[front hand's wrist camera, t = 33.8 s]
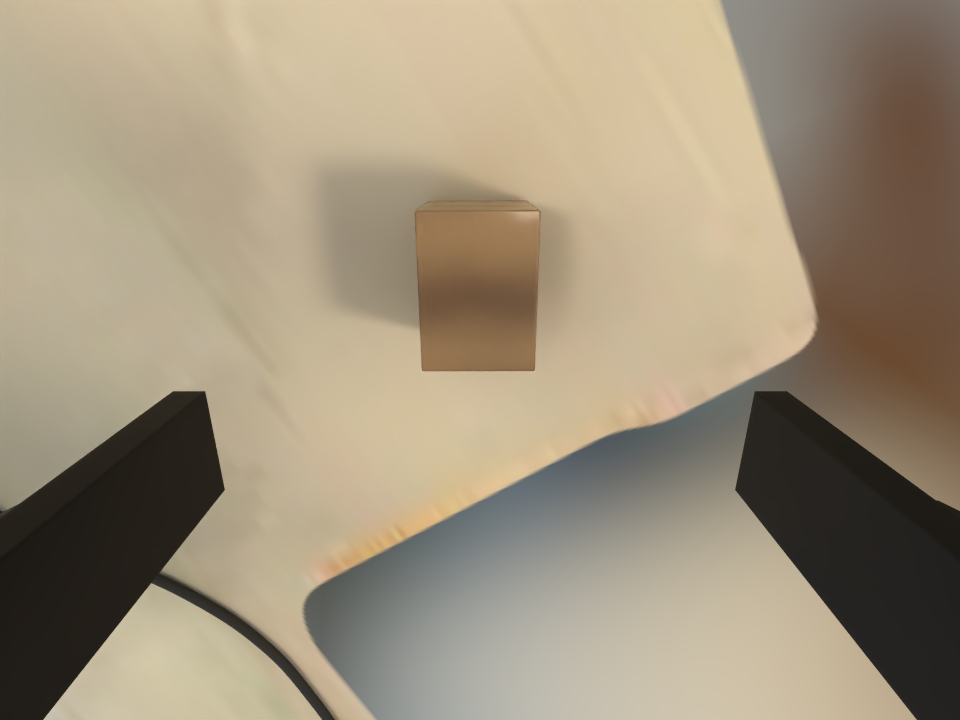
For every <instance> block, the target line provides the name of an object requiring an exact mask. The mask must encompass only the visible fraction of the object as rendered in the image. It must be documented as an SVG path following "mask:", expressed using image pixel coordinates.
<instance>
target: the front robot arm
mask: <svg viewBox="0 0 960 720" xmlns="http://www.w3.org/2000/svg"><path fill="white" fill-rule="evenodd" d="M224 490H225V489H224V484H223V479H222V474H221V469H220V464H219V459H218V454H217V449H216V443H215V438H214V433H213V428H212V423H211V418H210V413H209V408H208V403H207V398H206V393H205V391H173V392H172V393H170V394H169V395H168V396H166V397H165V398H163V399H162V400H161V401H159V402H158V403H157V404H155V405H154V406H153V407H151V408H150V409H148V410H147V411H146V412H144V413H143V414H142V415H140V416H139V417H138V418H136V419H135V420H133V421H132V422H131V423H129V424H128V425H127V426H125V427H124V428H123V429H121V430H120V431H118V432H117V433H116V434H114V435H113V436H112V437H110V438H109V439H107V440H106V441H105V442H103V443H102V444H101V445H99V446H98V447H97V448H95V449H94V450H92V451H91V452H90V453H88V454H87V455H86V456H84V457H83V458H82V459H80V460H79V461H77V462H76V463H75V464H73V465H72V466H71V467H69V468H68V469H67V470H65V471H64V472H62V473H61V474H60V475H58V476H57V477H56V478H54V479H53V480H52V481H50V482H49V483H47V484H46V485H45V486H43V487H42V488H41V489H39V490H38V491H36V492H35V493H34V494H32V495H31V496H30V497H28V498H27V499H26V500H24V501H23V502H21V503H20V504H18V505H16V506H14V507H12V508H10V509H8V510H6V511H4V512H1V511H0V720H43V719H44V718H45V717H46V715H47V714H48V713H49V712H50V710H51V709H52V708H53V707H54V705H55V704H56V703H57V701H58V700H59V699H60V698H61V696H62V695H63V694H64V693H65V691H66V690H67V689H68V688H69V686H70V685H71V684H72V682H73V681H74V680H75V679H76V677H77V676H78V675H79V674H80V672H81V671H82V670H83V669H84V667H85V666H86V665H87V663H88V662H89V661H90V660H91V658H92V657H93V656H94V655H95V653H96V652H97V651H98V650H99V648H100V647H101V646H102V644H103V643H104V642H105V641H106V639H107V638H108V637H109V636H110V634H111V633H112V632H113V631H114V629H115V628H116V627H117V626H118V624H119V623H120V622H121V620H122V619H123V618H124V617H125V615H126V614H127V613H128V612H129V610H130V609H131V608H132V607H133V605H134V604H135V603H136V601H137V600H138V599H139V598H140V596H141V595H142V594H143V593H144V591H145V590H146V589H147V588H148V586H149V585H150V584H151V583H152V584H155V585H157V586H159V587H161V588H163V589H166V590H168V591H170V592H172V593H174V594H176V595H178V596H180V597H181V598H183V599H185V600H187V601H189V602H191V603H193V604H194V605H196V606H198V607H200V608H202V609H203V610H205V611H207V612H209V613H210V614H212V615H214V616H215V617H217V618H218V619H220V620H222V621H223V622H225V623H226V624H228V625H229V626H231V627H232V628H234V629H235V630H236V631H238V632H239V633H241V634H242V635H243V636H245V637H246V638H247V639H248V640H250V641H251V642H252V643H253V644H255V645H256V646H257V647H258V648H259V649H261V650H262V651H263V652H264V653H265V654H266V655H267V656H268V657H270V658H271V659H272V660H273V661H274V662H275V663H276V664H277V665H278V666H279V667H280V668H281V669H282V670H283V671H284V672H285V674H286V675H287V676H288V677H289V678H290V679H291V680H292V682H293V683H294V684H295V685H296V687H297V688H298V689H299V690H300V692H301V693H302V694H303V695H304V697H305V698H306V699H307V701H308V702H309V703H310V704H311V706H312V707H313V708H314V709H315V711H316V712H317V713H318V715H319V716H320V717H321V719H322V720H334V718H333V717H332V715H331V714H330V712H329V711H328V710H327V708H326V707H325V706H324V704H323V703H322V702H321V700H320V699H319V698H318V696H317V695H316V694H315V693H314V691H313V690H312V689H311V687H310V686H309V685H308V684H307V682H306V681H305V680H304V678H303V677H302V676H301V675H300V673H299V672H298V671H297V670H296V669H295V668H294V666H293V665H292V664H291V663H290V662H289V661H288V660H287V659H286V658H285V657H284V656H283V655H282V654H281V653H280V652H279V651H278V650H277V649H276V648H275V647H274V646H273V645H272V644H271V643H269V642H268V641H267V640H266V639H265V638H264V637H262V636H261V635H260V634H259V633H258V632H256V631H255V630H254V629H253V628H251V627H250V626H249V625H247V624H246V623H245V622H243V621H242V620H241V619H239V618H238V617H236V616H235V615H233V614H232V613H230V612H229V611H227V610H226V609H224V608H222V607H221V606H219V605H217V604H216V603H214V602H212V601H211V600H209V599H207V598H205V597H204V596H202V595H200V594H198V593H196V592H195V591H193V590H191V589H189V588H187V587H185V586H183V585H181V584H179V583H178V582H175V581H173V580H171V579H169V578H167V577H165V576H163V575H160V574H159V572H160V571H161V570H162V569H163V567H164V566H165V565H166V563H167V562H168V561H169V560H170V558H171V557H172V556H173V555H174V553H175V552H176V551H177V550H178V548H179V547H180V546H181V545H182V543H183V542H184V541H185V539H186V538H187V537H188V536H189V534H190V533H191V532H192V531H193V529H194V528H195V527H196V526H197V524H198V523H199V522H200V520H201V519H202V518H203V517H204V515H205V514H206V513H207V512H208V510H209V509H210V508H211V507H212V505H213V504H214V503H215V501H216V500H217V499H218V498H219V496H220V495H221V494H222V493H223V491H224ZM735 490H736V491H737V493H738V494H739V495H740V496H741V498H742V499H743V500H744V501H745V503H746V504H747V505H748V507H749V508H750V509H751V510H752V512H753V513H754V514H755V515H756V517H757V518H758V519H759V520H760V522H761V523H762V524H763V526H764V527H765V528H766V529H767V531H768V532H769V533H770V534H771V536H772V537H773V538H774V539H775V541H776V542H777V543H778V545H779V546H780V547H781V548H782V550H783V551H784V552H785V553H786V555H787V556H788V557H789V558H790V560H791V561H792V562H793V563H794V565H795V566H796V567H797V569H798V570H799V571H800V572H801V574H802V575H803V576H804V577H805V579H806V580H807V581H808V582H809V584H810V585H811V586H812V588H813V589H814V590H815V591H816V593H817V594H818V595H819V596H820V598H821V599H822V600H823V601H824V603H825V604H826V605H827V607H828V608H829V609H830V610H831V612H832V613H833V614H834V615H835V617H836V618H837V619H838V620H839V622H840V623H841V624H842V626H843V627H844V628H845V629H846V630H847V632H848V633H849V634H850V636H851V637H852V638H853V639H854V641H855V642H856V643H857V644H858V646H859V647H860V648H861V649H862V651H863V652H864V653H865V655H866V656H867V657H868V658H869V660H870V661H871V662H872V663H873V665H874V666H875V667H876V669H877V670H878V671H879V672H880V674H881V675H882V676H883V677H884V679H885V680H886V681H887V682H888V684H889V685H890V686H891V688H892V689H893V690H894V691H895V693H896V694H897V695H898V696H899V698H900V699H901V700H902V701H903V703H904V704H905V705H906V707H907V708H908V709H909V710H910V712H911V713H912V714H913V715H914V717H915V718H916V719H917V720H960V511H958V510H956V509H954V508H952V507H950V506H948V505H946V504H944V503H942V502H940V501H936V500H934V499H933V498H932V497H930V496H929V495H928V494H926V493H925V492H923V491H922V490H921V489H919V488H918V487H917V486H915V485H914V484H913V483H911V482H910V481H908V480H907V479H906V478H904V477H903V476H902V475H900V474H899V473H898V472H896V471H895V470H893V469H892V468H891V467H889V466H888V465H887V464H885V463H884V462H882V461H881V460H880V459H878V458H877V457H876V456H874V455H873V454H872V453H870V452H869V451H867V450H866V449H865V448H863V447H862V446H861V445H859V444H858V443H857V442H855V441H854V440H852V439H851V438H850V437H848V436H847V435H846V434H844V433H843V432H842V431H840V430H839V429H837V428H836V427H835V426H833V425H832V424H831V423H829V422H828V421H827V420H825V419H824V418H822V417H821V416H820V415H818V414H817V413H816V412H814V411H813V410H812V409H810V408H809V407H807V406H806V405H805V404H803V403H802V402H801V401H799V400H798V399H797V398H795V397H794V396H792V395H791V394H790V393H788V392H787V391H756V392H755V393H754V398H753V403H752V408H751V413H750V418H749V424H748V428H747V434H746V439H745V444H744V449H743V454H742V459H741V464H740V469H739V474H738V479H737V484H736V489H735Z"/></svg>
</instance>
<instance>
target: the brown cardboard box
mask: <svg viewBox="0 0 960 720" xmlns="http://www.w3.org/2000/svg"><path fill="white" fill-rule="evenodd" d="M415 227H416V250H417V272H418V294H419V317H420V339H421V361H422V371H534V370H535V350H536V322H537V294H538V266H539V238H540V210H539V209H538V208H536V207H535V206H533V205H532V204H531V203H529V202H528V201H429V202H427V203H426V204H424V205H423V206H421V207H420V208H418V209H417V210H416V211H415Z"/></svg>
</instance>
